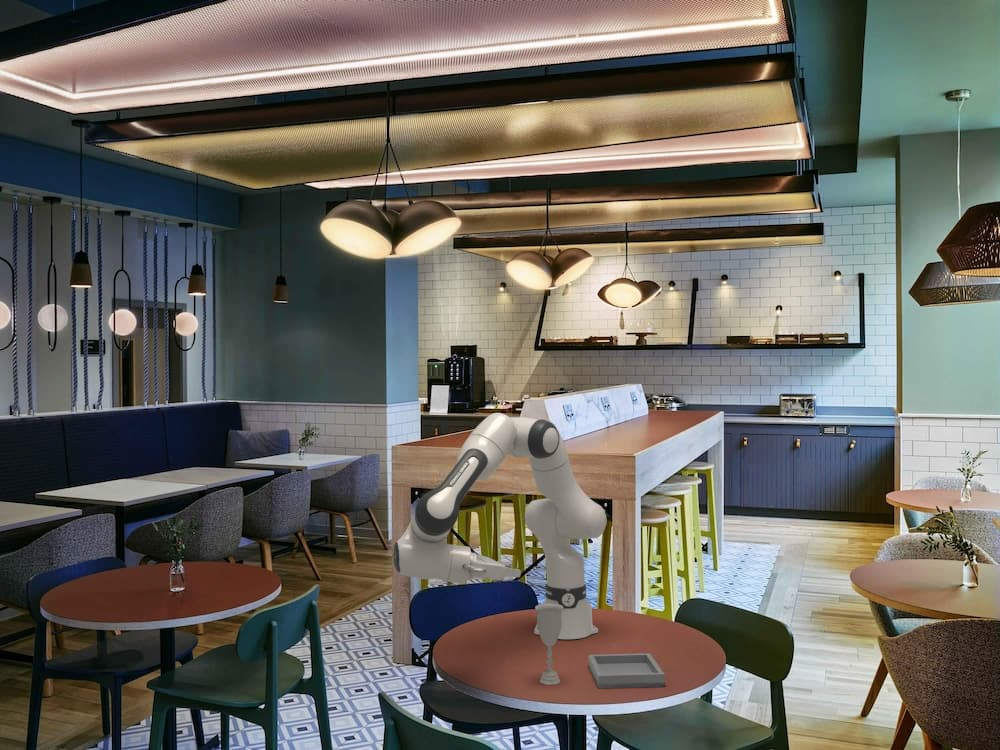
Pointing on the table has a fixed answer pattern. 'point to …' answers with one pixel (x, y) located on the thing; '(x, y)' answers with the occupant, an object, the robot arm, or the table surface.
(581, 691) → the table surface
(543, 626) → the chalice
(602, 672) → the tray
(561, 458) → the robot arm
